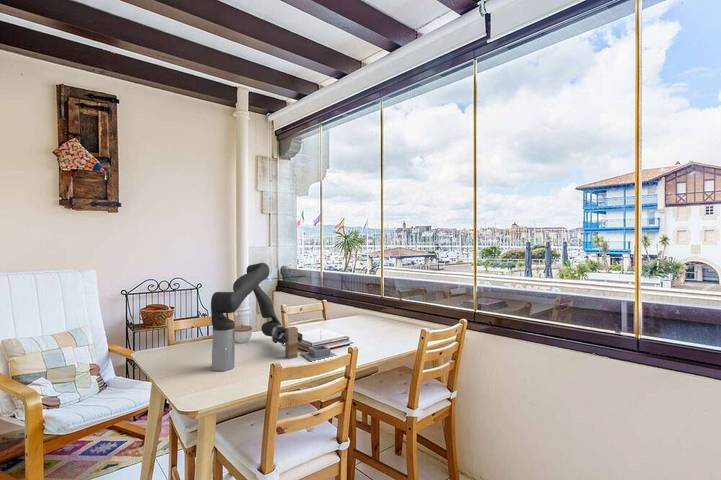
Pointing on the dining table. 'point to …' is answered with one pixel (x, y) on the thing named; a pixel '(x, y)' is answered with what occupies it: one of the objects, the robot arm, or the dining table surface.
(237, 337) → the lidded jar
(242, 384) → the dining table surface
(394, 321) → the dining table surface
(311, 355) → the slate stand
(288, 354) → the walnut block
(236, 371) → the dining table surface
